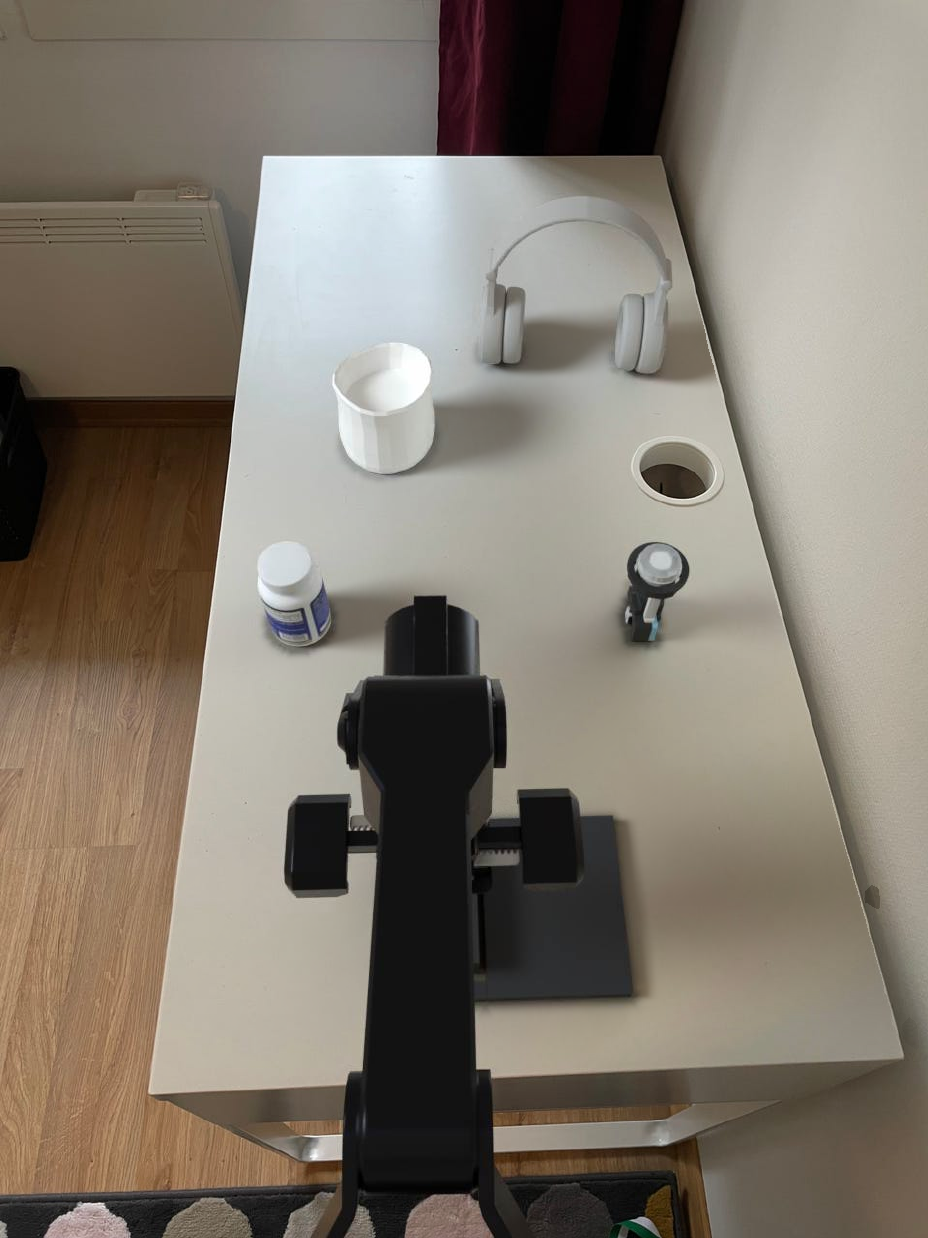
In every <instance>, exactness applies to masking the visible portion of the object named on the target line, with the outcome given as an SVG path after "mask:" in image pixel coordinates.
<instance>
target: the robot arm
mask: <svg viewBox="0 0 928 1238" xmlns="http://www.w3.org/2000/svg"><path fill="white" fill-rule="evenodd" d="M383 631H384V634H383V635H384V636H383V666H382V675H376V674H375V675H373V676H367V677H366V678H365V679H360V680H359V682H358V683H357V685H356V687H355V688H354V690H353V692H346V693H345V696H344V699H343V704H342V707H341V709H340V710H341V711H340V714H339V717H338V721H337V726H336V728H337V729H336V742H337V747H338V748H339V749H340V750H341V751H342V752H344V754H345V763H346V765H348V768H349V770H350V771H359V778H360V779H359V780H360V791H361V798H362V799H361V801H362V809H363V814H360V815H359V814H356V815H355V814H354V815H352V816H350V809H351V808H352V796H351V793H327V794H326V793H325V794H324V793H323V794H297V796H296V797H295V798H294V799H293V800H292V802H291V803H290V804H289V806H288V809H287V818H286V819H287V820H286V833H285V848H284V864H283V877H284V878H283V879H284V884H285V886H286V888H287V889H288V891H289V892H290V893H291V894H292V895H293V896H294V897H295V898H296V899H317V898H319V899H320V898H339V897H342V896H346V895H348V894H349V890H350V889H349V887H350V884H349V881H348V867H349V864H348V863H349V854H350V855H353V854H355V855H357V854H375V860H376V862H375V877H374V879H375V880H374V881H375V882H374V891H373V892H374V893H373V906H372V921H371V936H370V951H369V966H368V982H367V995H366V996H367V997H366V1009H365V1024H364V1025H365V1026H364V1041H363V1053H362V1054H363V1055H362V1070H350V1071H349V1073H348V1074H347V1077H346V1078H347V1079H346V1084H345V1092H344V1102H343V1116H342V1117H343V1118H342V1137H341V1138H342V1139H341V1140H342V1141H341V1142H342V1144H341V1180H340V1182H339V1183H338V1186H337V1187H336V1190H335V1191H334V1193H333V1195H332V1196H331V1198H330V1200H329V1202H328V1204H327V1206H326V1208H325V1209H324V1211H323V1213H322V1215H321V1216H320V1219H319V1220H318V1222H317V1225H316V1226H315V1228H314V1229H313V1232H312V1234H311V1235H310V1237H309V1238H345V1237H346V1236H347V1234H348V1232H349V1230H350V1228H351V1226H352V1224H353V1222H354V1221H355V1219H356V1215H357V1211H358V1207H359V1202H360V1196H361V1192H362V1193H363V1195H364V1196H366V1197H376V1196H377V1197H378V1196H435V1195H437V1196H441V1195H444V1196H445V1195H473V1194H474V1193H475V1192H476V1191H477V1197H478V1198H477V1199H478V1206H479V1211H480V1214H481V1217H482V1219H483V1221H484V1223H485V1225H486V1226H487V1229H488V1230H489V1232H490V1234H491V1235H492V1237H493V1238H537V1236H536V1234H535V1232H534V1231H533V1229H532V1228H531V1226H530V1224H529V1222H528V1220H527V1219H526V1217H525V1215H524V1213H523V1212H522V1210H521V1208H520V1206H519V1204H518V1203H517V1201H516V1199H515V1197H514V1196H513V1194H512V1192H511V1190H510V1188H509V1187H508V1185H507V1183H506V1182H505V1180H504V1178H503V1176H502V1175H501V1172H500V1171H499V1169H498V1168H497V1166H496V1164H495V1146H494V1145H495V1140H494V1105H493V1104H494V1103H493V1082H492V1081H493V1080H492V1071H491V1068H478V1069H477V1037H476V1033H477V1032H476V1002H475V992H474V981H475V974H474V952H473V912H472V894H477V895H483V894H485V893H487V892H489V891H490V890H491V888H492V867H497V866H518V865H520V863H521V857H522V873H523V876H522V889H526V890H530V891H570V890H575V888H576V887H577V886H578V885H579V884H580V883H581V882H582V879H583V877H584V874H585V860H584V849H583V839H582V829H581V818H580V816H581V809H580V802H579V799H578V796H577V795H576V794H575V793H574V792H573V791H572V790H571V789H570V788H569V787H557V788H555V787H554V788H520V789H519V788H518V789H517V790H516V804H517V807H518V818H519V825H520V826H506V827H490V819H491V815H492V813H493V797H494V796H493V793H494V769H506V768H507V756H508V727H507V725H508V723H507V720H508V719H507V705H506V704H507V703H506V697H505V693H504V690H503V689H504V688H503V686H502V683H501V679H500V678H490V677H489V676H487V675H481V657H480V656H481V654H480V652H481V651H480V650H481V649H480V624H479V620H478V619H477V618H476V617H475V615H473V614H472V613H471V612H469V611H467V610H465V609H463V608H461V607H459V606H455V605H452V604H448V596H447V594H435V595H434V594H432V595H431V594H429V595H428V594H423V595H422V594H420V595H417V594H416V595H413V604H411V605H407V606H404V607H402V608H399V609H398V610H396V611H394V612H393V613H391V614H390V615H389V616H388V617H387V619H385V621H384V630H383ZM361 828H362V829H361ZM355 829H356V830H355ZM503 849H505V850H504V853H503V854H502V853H501V850H503ZM506 849H511V850H510V853H509V854H508V852H507V850H506ZM513 849H517V851H516V853H514V851H513ZM519 849H521V853H520V851H519ZM494 850H498V852H497V854H496V853H495V851H494Z"/></svg>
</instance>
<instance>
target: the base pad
mask: <svg viewBox="0 0 928 1238" xmlns="http://www.w3.org/2000/svg"><path fill="white" fill-rule="evenodd" d="M580 818H581V829H582V839H583V849H584V860H585V874H584V877H583V879H582V882H581V883H580V884H579V885H578V886H577V887H576V888H575V890H570V891H530V890H526V889H522V876H523V873H522V857H521V863H520V865H518V866H497V867H492V888H491V890H490V891H489V892H487V893H485V894H482V909H483V910H482V911H483V913H482V914H483V915H482V916H483V937H484V960H485V961H484V962H485V980H474V992H475V1003H484V1002H515V1001H546V1000H547V1001H548V1000H549V1001H551V1000H577V999H578V1000H579V999H610V998H615V999H616V998H631V997H632V996H633V995H634V989H633V982H632V981H633V980H632V971H631V961H630V953H629V945H628V936H627V926H626V917H625V909H624V901H623V892H622V883H621V876H620V866H619V857H618V850H617V849H618V848H617V840H616V839H617V838H616V832H615V822H614V815H610V814H609V815H580ZM506 826H520V825H519V817H506V818H504V817H503V818H490V827H506ZM504 850H505V849H503V850H501V853H502V854H503V853H504ZM506 850H507V852H508V854H509V853H510V850H511V849H506ZM494 851H495V853H496V854H497V852H498V850H494ZM513 851H514V853H516V851H517V849H513ZM519 851H520V853H521V849H519Z"/></svg>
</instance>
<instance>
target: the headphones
mask: <svg viewBox="0 0 928 1238" xmlns="http://www.w3.org/2000/svg"><path fill="white" fill-rule="evenodd" d="M575 222H590V223H596V224H601V225H605V226H610V227H614V228H616V229H618V230H621V232H624V233H626V234H627V235H629V236H630V237H632V238H634V239H635V240H637V241H638V242H639V244H640V245H642V247H643V248H644V249H645V250H646V251H647V253H648V254H649V255H650V257H651V260H652V262H653V264H654V266H655V268H656V270H657V271H658V273H659V276H658V280H657V283H656V286H655V290H654V291H653V292H647V293H644V294H643V295H641V294H639V293H628V294H625V295H624V296H623V297H622V299H621V301H620V305H619V309H618V315H617V322H616V330H615V339H614V340H615V341H614V344H615V345H614V361H615V365H616V368H617V369H619V370H622V371H633V370H635V372H637V373H640V374H647V375H648V374H655V373H656V372H657V371H659V370H660V368H661V366H662V363H663V360H664V355H665V350H666V345H667V337H668V329H669V328H668V327H669V300H668V299H667V297H668V292H670V291H671V290H672V289H673V285H674V284H673V268H672V260H671V259H669V258H667V256H666V254H665V250H664V248H663V245H662V243H661V241H660V238H659V236H658V234H657V233H656V232H655V230H654V229H653V228H652V226H651V225H650V224H649V223H648V222H647V221H646V220H645V219H644V218H643V217H642V216H640V215H639V214H638V213H636V212H635V211H634V210H632V209H631V208H629V207H628V206H625V205H623V204H621V203H619V202H617V201H614V200H611V199H607V198H604V197H597V196H588V195H585V196H584V195H581V196H579V195H578V196H576V195H575V196H567V197H562V198H557V199H553V200H550V201H547V202H544V203H541V204H540V205H538V206H535V207H534V208H532V209H529V210H528V211H527V212H525V213H524V214H522V215H521V216H520V217H518V218H517V219H516V220H515V221H514V222H513V223H512V224H511V225H510V226H509V227H508V228H507V229H506V230H505V232H504V233H503V234H502V236H501V237H500V239H499V240H498V242H497V243H496V245H495V247H494V248H490V249H488V250H487V257H486V267H485V279H486V280H487V281H488V283H487V284H486V285H485V286H483V287H482V289H481V297H480V305H479V307H480V308H479V317H478V320H479V321H478V337H477V338H478V339H477V347H478V348H477V353H478V355H477V356H478V360H480V361H481V363H482V364H489V365H496V364H500V363H501V362H503V363H505V364H518V363H519V362H520V360H521V358H522V350H523V339H524V337H523V336H524V325H525V310H526V291H525V289H524V288H522V287H519V286H509V287H507V288H506V286H505V285H504V284H499V283H497V278H498V273H499V268H500V266H502V264H503V262H504V261H505V260H506V258H507V257H508V256H509V255H510V253H511V252H512V251H513V249H515V247H516V246H517V245H519V244H520V243H521V242H523V241H524V240H525V239H526V238H528V237H529V236H531V235H533V234H535V233H536V232H539V231H541V230H543V229H546V228H548V227H552V226H555V225H558V224H564V223H575Z"/></svg>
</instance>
